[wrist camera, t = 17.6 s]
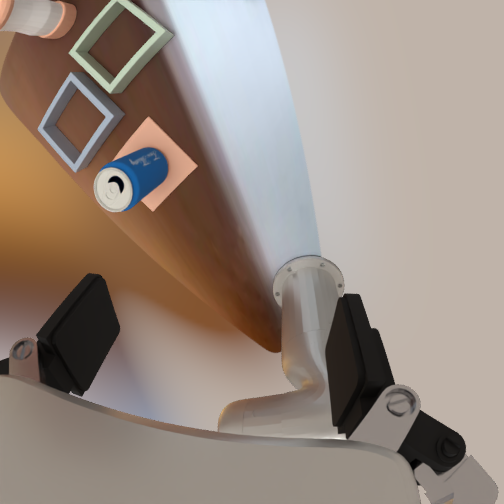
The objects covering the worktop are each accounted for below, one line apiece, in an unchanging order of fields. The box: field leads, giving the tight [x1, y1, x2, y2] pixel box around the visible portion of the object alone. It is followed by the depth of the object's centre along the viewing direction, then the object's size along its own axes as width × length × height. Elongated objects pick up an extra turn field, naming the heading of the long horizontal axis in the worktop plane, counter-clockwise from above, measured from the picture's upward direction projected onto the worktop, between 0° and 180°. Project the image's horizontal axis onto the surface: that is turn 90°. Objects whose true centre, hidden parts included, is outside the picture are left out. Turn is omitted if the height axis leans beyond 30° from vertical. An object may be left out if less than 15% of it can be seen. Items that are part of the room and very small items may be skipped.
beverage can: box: [94, 147, 168, 212], centre depth 36 cm, size 6×6×12 cm
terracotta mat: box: [113, 117, 198, 211], centre depth 41 cm, size 11×11×1 cm
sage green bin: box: [69, 0, 174, 94], centre depth 30 cm, size 12×12×4 cm
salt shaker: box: [0, 0, 77, 39], centre depth 20 cm, size 7×7×19 cm
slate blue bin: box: [38, 72, 125, 173], centre depth 36 cm, size 12×12×4 cm
